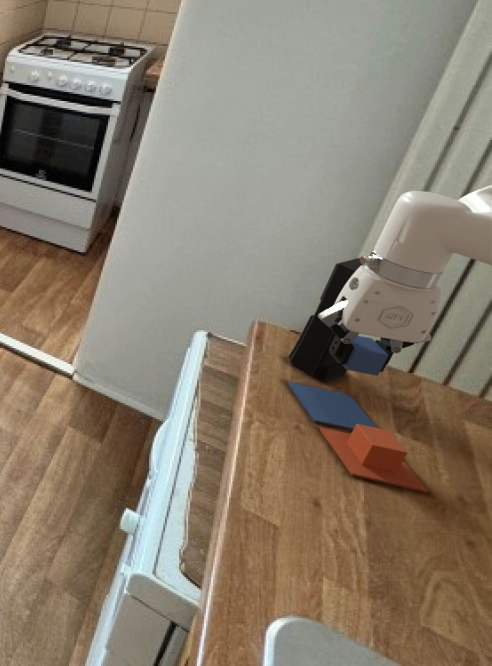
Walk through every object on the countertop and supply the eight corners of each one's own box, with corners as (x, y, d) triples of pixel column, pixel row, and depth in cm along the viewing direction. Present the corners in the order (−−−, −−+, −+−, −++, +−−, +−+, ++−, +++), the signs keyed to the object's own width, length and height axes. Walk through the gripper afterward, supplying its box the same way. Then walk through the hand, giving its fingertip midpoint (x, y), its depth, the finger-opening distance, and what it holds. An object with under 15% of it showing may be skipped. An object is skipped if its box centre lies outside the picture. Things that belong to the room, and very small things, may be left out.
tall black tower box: (312, 351, 116) (362, 240, 107) (349, 373, 110) (406, 258, 101) (284, 360, 113) (334, 247, 104) (321, 382, 108) (377, 266, 99)
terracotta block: (379, 450, 94) (389, 430, 93) (396, 473, 91) (408, 452, 89) (346, 443, 96) (356, 423, 94) (361, 465, 92) (372, 444, 90)
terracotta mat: (387, 443, 96) (388, 442, 96) (427, 493, 88) (428, 491, 88) (319, 429, 99) (320, 427, 98) (351, 475, 91) (352, 473, 90)
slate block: (361, 358, 100) (371, 338, 99) (377, 375, 97) (388, 355, 95) (331, 352, 101) (340, 332, 100) (346, 369, 98) (356, 349, 96)
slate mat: (348, 396, 105) (349, 394, 105) (381, 436, 97) (382, 434, 97) (287, 383, 108) (288, 381, 108) (314, 421, 100) (315, 420, 100)
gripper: (349, 271, 91) (305, 365, 98) (493, 295, 86) (435, 391, 93) (322, 246, 98) (282, 336, 104) (454, 266, 93) (403, 358, 100)
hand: (355, 361), depth 99 cm, fingers closed on slate block, 4 cm apart
